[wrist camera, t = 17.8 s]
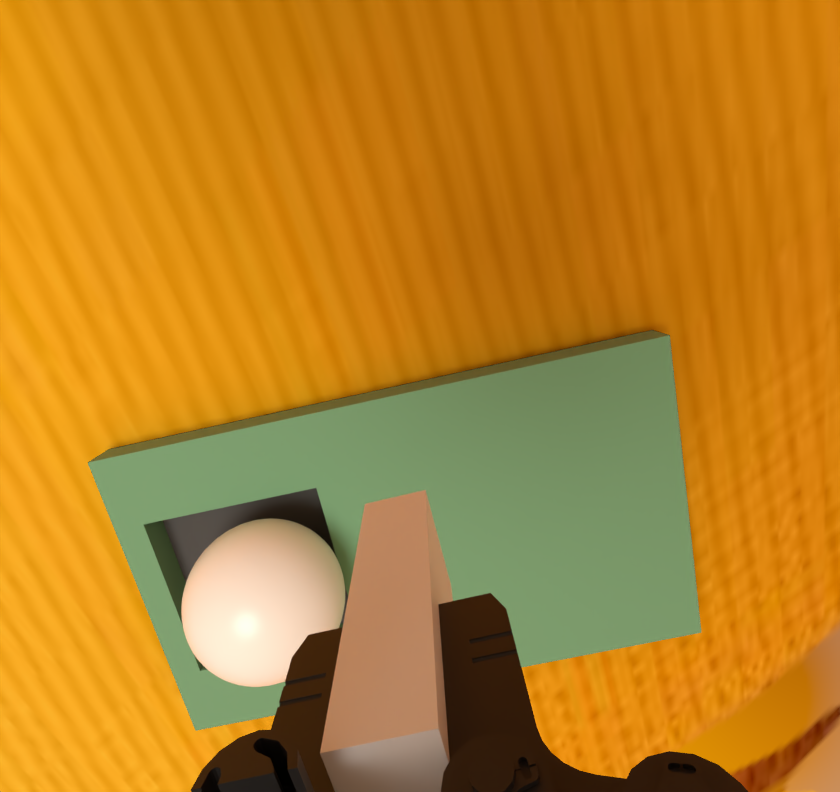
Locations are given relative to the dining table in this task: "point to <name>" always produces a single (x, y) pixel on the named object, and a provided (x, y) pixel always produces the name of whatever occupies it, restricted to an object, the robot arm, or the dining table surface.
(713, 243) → the dining table surface
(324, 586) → the ball
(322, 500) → the putting board
